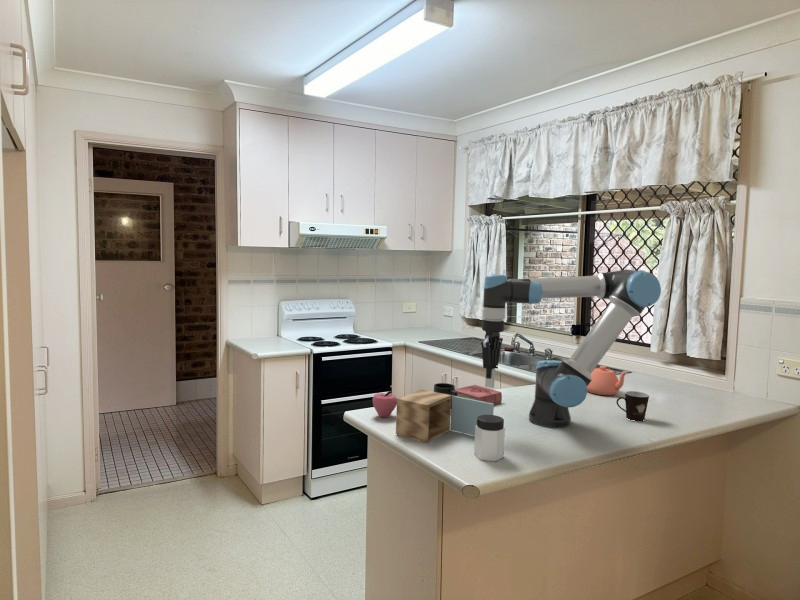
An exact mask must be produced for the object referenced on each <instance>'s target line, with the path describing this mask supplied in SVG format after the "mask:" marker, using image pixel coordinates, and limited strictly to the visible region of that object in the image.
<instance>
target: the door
mask: <svg viewBox="0 0 800 600" xmlns="http://www.w3.org/2000/svg"><path fill="white" fill-rule="evenodd" d="M494 409H495V405H494V404H493V403H488V402H483V401H478V400H473V399H468V398H463V397H458V396H455V395H452V403H451V416H450V430H449V431H451V432H452V431H453V432H458V433H461V434H466V435H471V436H474V437H475V426H476V425H477V417H478V416H480V415H494Z"/></svg>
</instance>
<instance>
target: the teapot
mask: <svg viewBox="0 0 800 600" xmlns="http://www.w3.org/2000/svg"><path fill="white" fill-rule="evenodd" d="M628 373H629V371H623V372H621V373H620V375H619V379H618V376H617V375H616V372H615V371H614V370H612V369H609V368H607V366H606V365H599V367H595V369H594V370H593V371H592V373H591V378H592V381H591V382H590V383H589V385H588V386H587V393H588V392H589V393H591V394H595V395H598V396H599V395H600V396H605V395H606V396H613V395H617V393H618V392H619V391H620V389H621V388H623V386H624V382H625V376H626V375H627V374H628Z"/></svg>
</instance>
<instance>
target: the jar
mask: <svg viewBox="0 0 800 600" xmlns="http://www.w3.org/2000/svg"><path fill="white" fill-rule="evenodd" d="M504 424H505V419H504V418H503V417H502V416H499V415H494V414H493V415H480V416H478V417H477V425H476V426H475V436H474V445H473V446H474V447H473V448H474V451H473V455H474V456H475V457H477V458H478V459H479V460H480V461H487V462H498V461H500V460H502V459H503V458H504V455H505V453H504V452H505V437H506V434H505V433H506V427H504V426H505V425H504Z"/></svg>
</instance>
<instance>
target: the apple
mask: <svg viewBox="0 0 800 600" xmlns="http://www.w3.org/2000/svg"><path fill="white" fill-rule="evenodd" d="M397 399H398V398H397V397H396V395H394V394H392V391H391V390H389V391H387V392H386V393H384V392H383V393H382V392H379V393H375V394H374V395H373V397H372V405H373V408H374V410H375V412H376V413H377V415H378V416H379V417H380V418H389V417H391V416H392V413H393V412H394V410H395V408H397Z"/></svg>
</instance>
